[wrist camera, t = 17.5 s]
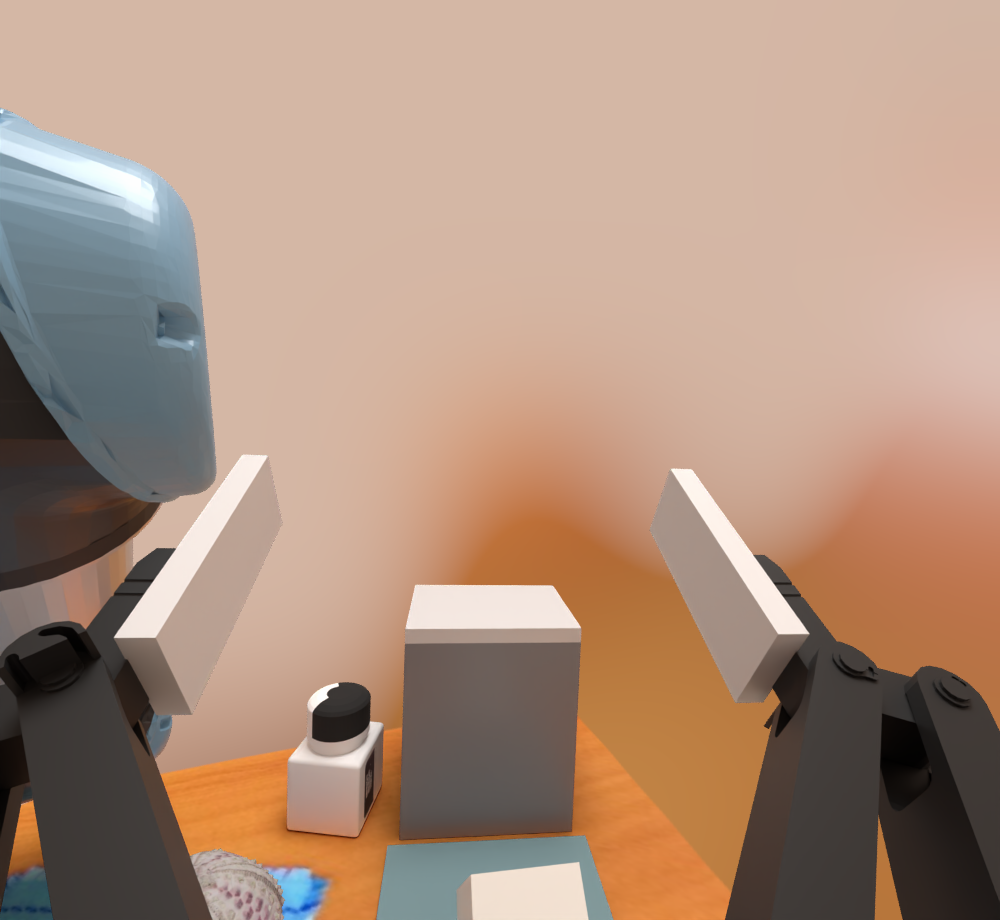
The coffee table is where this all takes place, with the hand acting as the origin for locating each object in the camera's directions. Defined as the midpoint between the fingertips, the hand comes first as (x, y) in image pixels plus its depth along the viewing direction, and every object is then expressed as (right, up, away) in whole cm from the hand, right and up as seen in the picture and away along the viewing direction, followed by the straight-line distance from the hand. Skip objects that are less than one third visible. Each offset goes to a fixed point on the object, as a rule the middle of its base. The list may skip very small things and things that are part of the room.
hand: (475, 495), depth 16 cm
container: (-17, -37, +37) cm, 55 cm away
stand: (-1, -38, +41) cm, 55 cm away
